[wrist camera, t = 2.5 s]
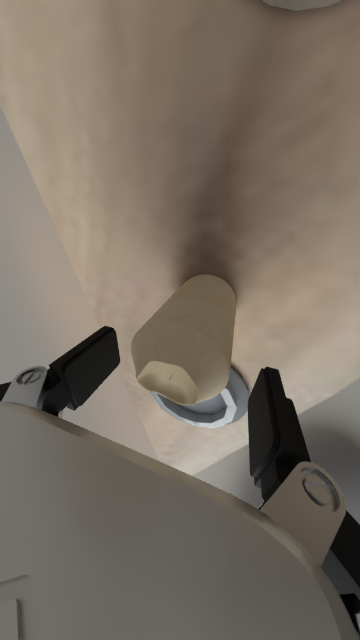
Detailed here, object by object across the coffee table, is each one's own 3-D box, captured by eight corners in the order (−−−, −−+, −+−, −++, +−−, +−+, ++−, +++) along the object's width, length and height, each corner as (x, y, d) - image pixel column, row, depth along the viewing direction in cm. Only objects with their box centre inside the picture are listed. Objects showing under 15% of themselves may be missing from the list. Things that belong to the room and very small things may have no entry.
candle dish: (143, 335, 21) (136, 344, 19) (264, 366, 17) (266, 380, 16) (149, 402, 28) (143, 412, 27) (234, 433, 25) (233, 446, 23)
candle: (177, 320, 18) (121, 403, 10) (180, 268, 15) (105, 326, 7) (229, 332, 17) (214, 439, 9) (243, 278, 14) (242, 363, 6)
